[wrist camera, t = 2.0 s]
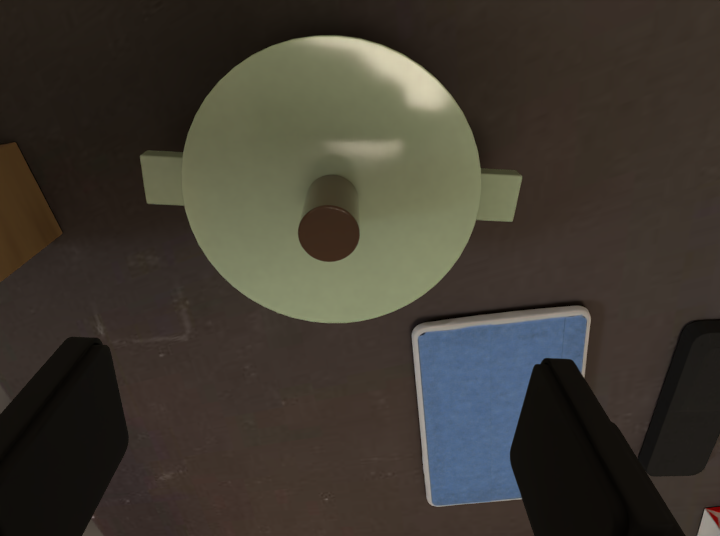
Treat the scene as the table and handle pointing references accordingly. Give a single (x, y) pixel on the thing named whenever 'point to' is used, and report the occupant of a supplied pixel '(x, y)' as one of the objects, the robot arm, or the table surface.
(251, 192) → the lid
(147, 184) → the light green round pot
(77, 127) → the table surface
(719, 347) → the remote control
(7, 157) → the block
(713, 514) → the red and white cube
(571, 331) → the tablet
